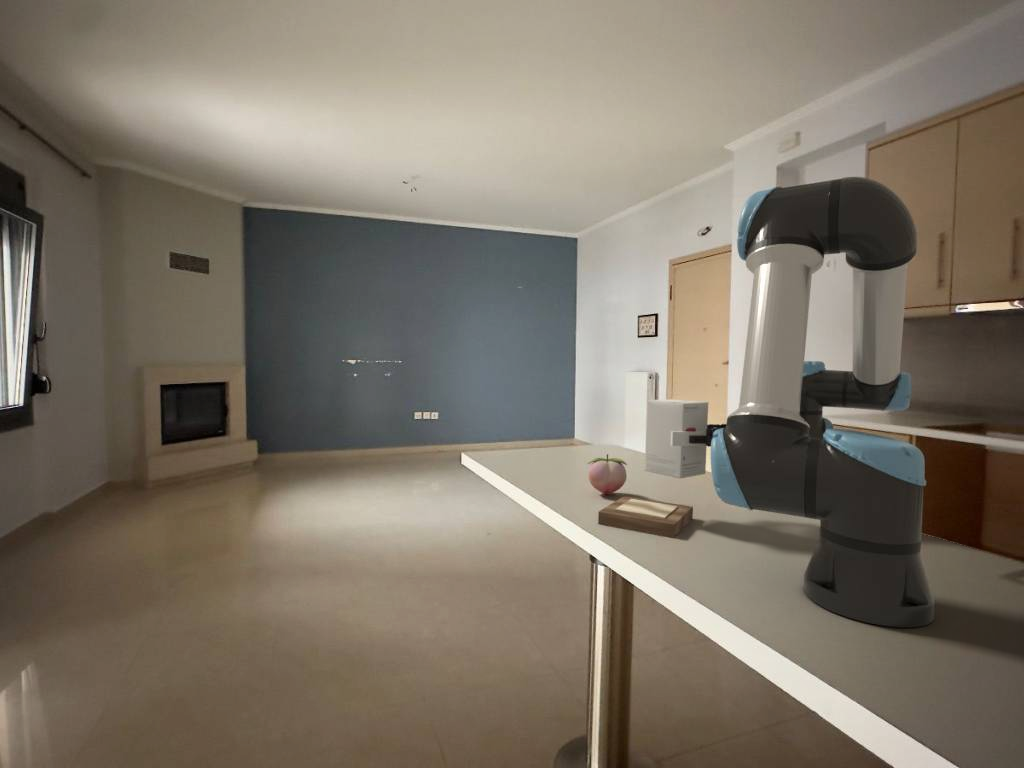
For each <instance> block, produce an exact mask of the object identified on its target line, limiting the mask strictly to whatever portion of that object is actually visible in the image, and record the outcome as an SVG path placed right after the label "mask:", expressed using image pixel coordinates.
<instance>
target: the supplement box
mask: <svg viewBox="0 0 1024 768" xmlns="http://www.w3.org/2000/svg"><path fill="white" fill-rule="evenodd" d="M646 406H647V411H646V414H647V415H646V432H645V433H646V434H645V452H644V453H645V454H644V457H645V459H644V472H648V473H653V474H658V475H663V476H667V477H672V478H676V479H685V478H686V479H687V478H692V477H695V476H702V475H705V474H706V468H707V467H706V466H707V447H708V446H706V444H704V446H671V431H689V432H705V435H706V429H707V425H708V417H709V416H708V415H709V402H708V401H702V400H701V401H699V400H686V399H685V400H684V399H679V398H678V399H677V398H675V399H673V398H671V399H669V398H667V399H666V398H665V399H648V400H647V405H646Z"/></svg>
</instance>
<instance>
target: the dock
mask: <svg viewBox="0 0 1024 768" xmlns="http://www.w3.org/2000/svg"><path fill="white" fill-rule="evenodd" d="M693 514H694V506H692V505H691V506H690V505H684V504H676V503H673V502H671V503H670V502H666V501H665V502H664V501H660V500H659V501H657V500H652V499H645V498H639V497H632V496H625V495H624V496H622V497H620V498H619V499H617V500H615V501H614V502H612V503H610V504H609V505H607V506H605V507H603V508H602V509H600V510H598V521H597V523H598V525H603V526H608V527H614V528H619V529H625V530H630V531H636V532H640V533H645V532H646V533H645V534H650V533H651V535H656V534H657V535H658V536H661V535H663V537H667V536H668V537H669V538H672V537H673V538H672V539H674V538H675V537H677V535H678V534H679V533H680V532H681V531H682V530H683V529H684V528H685V527H686V526H687V525H688V524H689V523H690V522H691V521H692V520H693V519H692V518H693V517H694V515H693ZM691 519H692V520H691ZM690 520H691V521H690ZM689 521H690V522H689ZM688 522H689V523H688ZM687 523H688V524H687ZM686 524H687V525H686ZM685 525H686V526H685ZM684 526H685V527H684ZM657 535H656V536H657Z"/></svg>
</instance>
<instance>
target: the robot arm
mask: <svg viewBox="0 0 1024 768" xmlns="http://www.w3.org/2000/svg"><path fill="white" fill-rule="evenodd" d="M738 220H739V221H738V225H737V233H738V235H737V238H736V239H737V240H736V242H737V243H736V245H737V247H736V248H737V253H738V256H739V258H740V259H741V260H742V261H745V267H746V268H747V269H748V271H750V272H751V273H752V274H753V283H752V288H751V298H750V305H749V306H750V307H749V315H748V316H749V317H748V325H747V331H746V332H747V334H746V343H745V353H744V357H743V358H744V361H743V368H742V376H741V385H740V394H739V395H740V396H739V404H738V408H737V409H736V410H734V411H732V412H731V413H730V414H729V415H727V418H726V423H722V424H720V423H719V424H718V423H717V424H714V423H713V424H712V423H709V424H707V429H706V435H705V432H689V431H671V446H704V444H706V446H707V447H710V469H711V476H712V477H711V478H712V482H713V487H714V490H715V492H716V495H717V496H718V498H719V499H720V500H721V501H722V502H724V503H725V504H727V505H730V506H735V507H739V508H744V509H747V510H749V511H753V510H756V511H763V512H769V513H773V514H774V513H775V514H782V515H783V514H784V515H787V516H794V517H800V518H807V519H813V520H819V521H820V523H819V524H820V527H819V539H818V542H817V543H816V546H815V548H814V550H813V553H812V556H811V558H810V559H809V562H808V564H807V567H806V569H805V571H804V574H803V592H804V595H805V596H807V598H808V599H809V600H810V601H812V602H814V603H815V604H816V605H818V606H820V607H822V608H824V609H826V610H827V611H830V612H833V613H835V614H837V615H839V616H843V617H846V618H849V619H852V620H856V621H859V622H863V623H867V624H868V623H869V624H872V625H873V624H874V625H878V626H884V627H891V628H892V627H893V628H918V627H924V626H926V625H929V624H931V623H932V622H933V621H934V618H935V605H936V604H935V598H934V595H933V592H932V589H931V585H930V583H929V579H928V576H927V573H926V570H925V567H924V564H923V561H922V556H921V549H922V531H923V530H922V529H923V528H922V527H923V506H924V504H923V502H924V486H925V487H926V486H927V480H926V479H925V473H926V470H925V467H926V466H925V465H926V463H925V456H924V454H923V452H922V450H920V448H918V447H917V446H916V445H914V444H912V443H909V442H906V441H904V440H900V439H897V438H892V437H889V436H885V435H879V434H875V433H870V432H864V431H859V430H854V429H853V430H851V429H843V428H834V424H833V423H832V422H831V420H829V419H828V418H826V417H823V416H824V415H823V414H824V413H823V408H824V407H825V408H841V409H842V408H843V409H855V410H856V409H859V410H871V411H881V412H883V411H884V412H886V411H889V412H890V411H891V412H892V411H898V412H899V411H900V412H901V411H902V412H903V411H905V410H907V409H908V408H909V407H910V403H911V393H912V391H911V390H912V389H911V388H912V377H911V376H912V375H911V374H910V373H908V372H903V371H901V361H902V360H901V359H902V358H901V357H902V344H903V330H904V318H905V317H904V316H905V305H906V304H905V303H906V302H905V301H906V292H907V291H906V290H907V289H906V288H907V277H908V276H907V274H908V273H907V272H908V264H910V263H911V262H912V261H913V260H914V259H915V258H916V255H917V248H918V247H917V246H918V233H917V228H916V225H915V221H914V218H913V216H912V214H911V213H910V210H909V208H908V207H907V206H906V204H905V202H904V201H903V200H902V199H901V198H900V197H899V195H897V194H896V192H895V191H894V190H891V189H890V188H889V187H888V186H886V185H885V184H883V183H881V182H878V181H876V180H874V179H873V178H872V179H871V178H868V177H863V176H847V177H842V178H837V179H831V180H825V181H819V182H818V181H816V182H812V183H805V184H799V185H793V186H786V187H782V186H774V187H772V188H769V189H763V190H759V191H756V192H754V193H753V194H751V195H749V197H748V198H747V200H746V201H745V203H744V204H743V207H742V208H741V212H740V216H739V219H738ZM841 253H843V254H844V253H845V261H846V262H845V263H846V264H847V265H848V267H850V268H851V269H852V370H838V369H837V370H836V369H834V370H833V369H827V368H826V364H825V363H824V361H819V360H818V361H817V360H816V361H815V360H805V353H806V345H807V344H806V343H807V333H808V332H807V331H808V322H809V309H810V299H811V289H812V288H811V287H812V276H813V275H814V274H815V273H816V272H818V271H819V270H820V269H822V267H823V265H824V263H825V262H824V261H825V255H835V254H837V255H838V254H841Z"/></svg>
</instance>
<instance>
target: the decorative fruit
mask: <svg viewBox="0 0 1024 768" xmlns="http://www.w3.org/2000/svg"><path fill="white" fill-rule="evenodd" d="M587 465H590V466H589V469H588V480H589V483H590V485H591V486H592V487H593V488H594V489H595V490H596V491H598V492H600V493H602V494H603V495H605V496H607V495H611V494H613V493H615V492H617V491H618V490H620V489H621V488H623V486H624V485H625V483H626V481H627V478H628V477H627V476H628V475H627V471H626V467H625V466H624V465H626V466H628V463H626V462H625V461H624V460H623V459H621V458H616V457H613V458H609V454H606V458H603V457H597V458H596V457H595V458H593V459H590V461H589V462H588V463H587Z"/></svg>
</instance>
